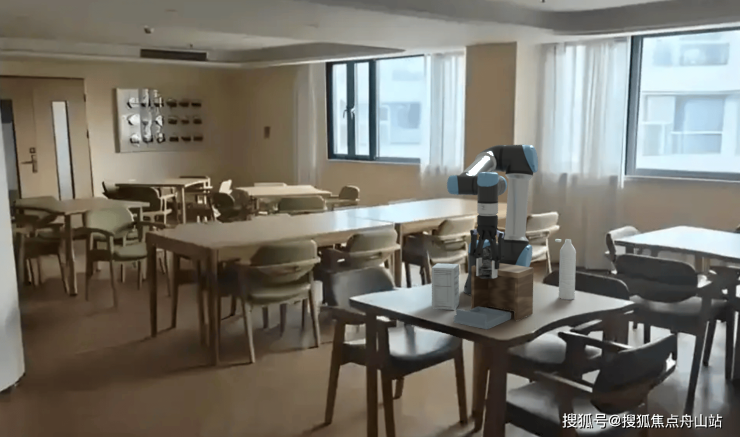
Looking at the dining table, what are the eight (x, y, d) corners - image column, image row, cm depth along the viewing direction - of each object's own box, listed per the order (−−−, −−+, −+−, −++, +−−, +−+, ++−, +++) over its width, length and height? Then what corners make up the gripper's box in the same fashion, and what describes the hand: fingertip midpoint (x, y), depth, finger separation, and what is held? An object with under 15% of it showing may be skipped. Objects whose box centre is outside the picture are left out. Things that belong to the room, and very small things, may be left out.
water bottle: (571, 295, 279) (572, 237, 276) (577, 299, 272) (579, 240, 269) (551, 296, 278) (552, 238, 275) (556, 300, 272) (558, 240, 268)
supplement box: (459, 304, 267) (459, 263, 265) (454, 310, 258) (455, 268, 256) (436, 302, 270) (436, 262, 268) (431, 308, 261) (431, 267, 259)
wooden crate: (471, 311, 256) (471, 266, 254) (487, 305, 265) (487, 261, 263) (517, 320, 243) (518, 272, 241) (532, 313, 252) (533, 267, 250)
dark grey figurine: (492, 275, 247) (492, 243, 245) (496, 278, 241) (497, 246, 239) (476, 275, 246) (477, 244, 245) (480, 279, 240) (481, 247, 239)
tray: (453, 322, 242) (454, 309, 241) (478, 312, 255) (478, 300, 254) (487, 329, 233) (487, 315, 232) (510, 318, 245) (511, 305, 245)
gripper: (460, 213, 244) (459, 274, 247) (505, 217, 231) (504, 281, 234) (471, 211, 249) (470, 271, 252) (515, 215, 237) (514, 278, 240)
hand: (486, 276), depth 243 cm, fingers closed on dark grey figurine, 6 cm apart
